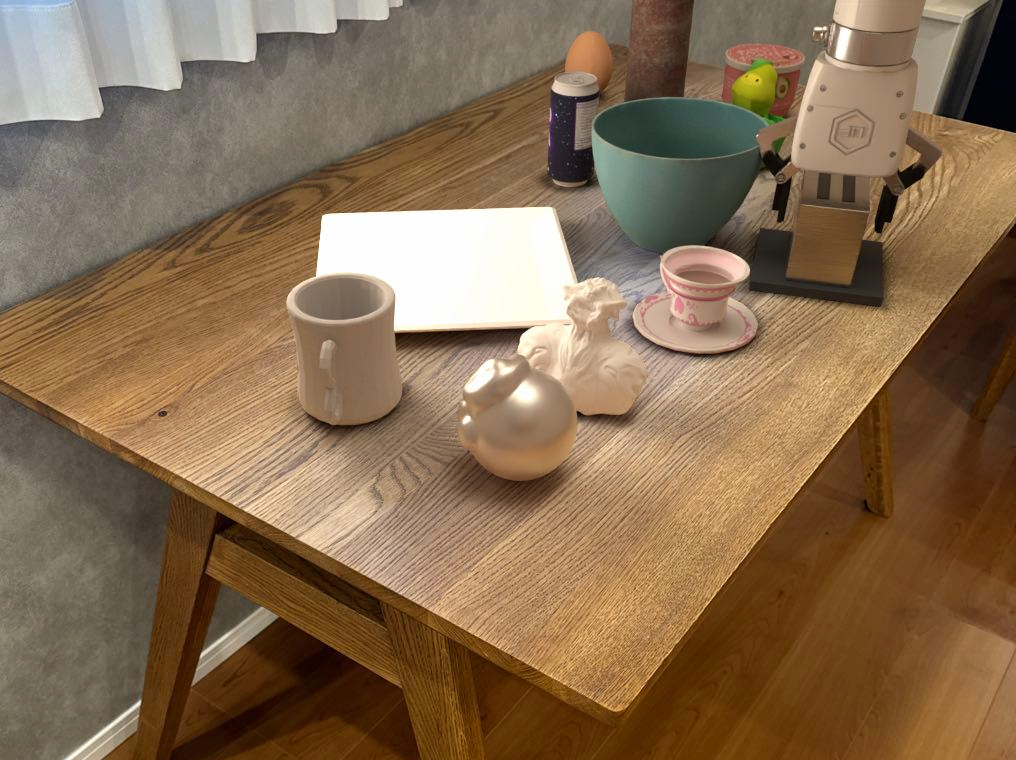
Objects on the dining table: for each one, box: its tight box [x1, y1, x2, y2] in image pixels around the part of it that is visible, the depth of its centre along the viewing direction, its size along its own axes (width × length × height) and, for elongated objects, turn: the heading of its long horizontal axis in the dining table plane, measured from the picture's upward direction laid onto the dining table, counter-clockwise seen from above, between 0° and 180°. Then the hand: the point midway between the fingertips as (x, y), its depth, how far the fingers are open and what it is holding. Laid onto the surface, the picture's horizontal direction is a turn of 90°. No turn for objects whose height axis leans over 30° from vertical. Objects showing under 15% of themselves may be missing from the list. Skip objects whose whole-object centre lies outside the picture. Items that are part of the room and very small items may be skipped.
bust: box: [517, 276, 649, 416], centre depth 87 cm, size 12×8×11 cm
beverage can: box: [546, 71, 601, 188], centre depth 121 cm, size 6×6×12 cm
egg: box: [564, 30, 614, 95], centre depth 145 cm, size 7×7×9 cm
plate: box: [315, 206, 579, 334], centre depth 105 cm, size 26×26×2 cm
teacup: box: [631, 245, 759, 354], centre depth 97 cm, size 12×12×6 cm
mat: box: [748, 227, 884, 307], centre depth 107 cm, size 13×13×1 cm
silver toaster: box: [785, 170, 871, 288], centre depth 104 cm, size 6×12×8 cm, turn 164°
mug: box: [285, 272, 403, 426], centre depth 85 cm, size 12×9×10 cm
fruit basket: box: [724, 59, 787, 170], centre depth 127 cm, size 11×9×11 cm
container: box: [721, 43, 806, 118], centre depth 139 cm, size 10×10×8 cm
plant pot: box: [592, 96, 769, 254], centre depth 109 cm, size 18×18×12 cm
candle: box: [623, 0, 695, 103], centre depth 124 cm, size 8×7×20 cm
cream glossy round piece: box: [457, 353, 578, 482], centre depth 79 cm, size 9×10×10 cm
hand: (828, 222), depth 104 cm, fingers open, 9 cm apart
